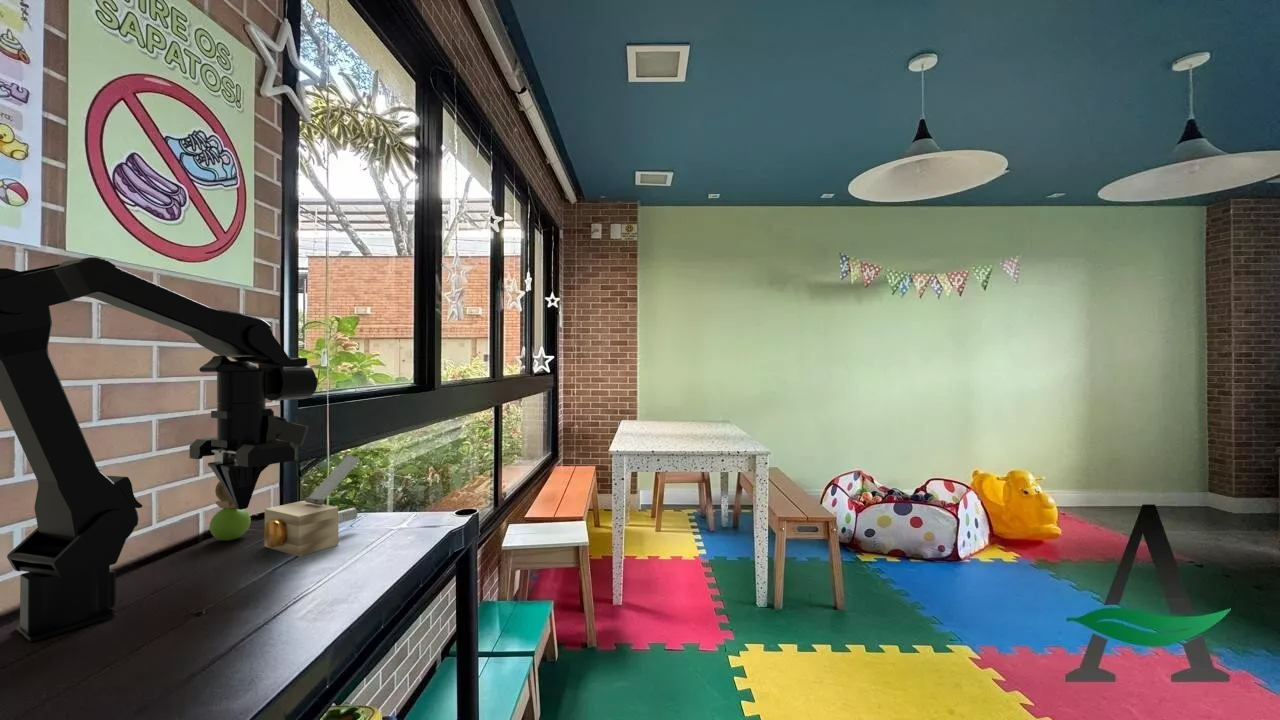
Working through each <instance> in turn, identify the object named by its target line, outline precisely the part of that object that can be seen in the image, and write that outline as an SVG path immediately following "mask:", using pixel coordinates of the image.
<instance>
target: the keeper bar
mask: <svg viewBox="0 0 1280 720" xmlns="http://www.w3.org/2000/svg"><path fill="white" fill-rule="evenodd" d="M360 461H361V459H360V458H359V457H358V456H352V455H346V456H345V458H343V460H342V461H340V463H339V464H338V465H337V466H336V467H335V468H334V469H333V470H332V471H331V473H330V474H328V476H327V477H326V478H325V479H324V480H323V481H322V482H321V483H320V484H319V485H318V486H317V487H316V489H315V490H314V491H312V493H311V494H310V495H309V496H306V497H305V498H304V501H305V502H307V503H313V504H318V505H322V504H324V503H325V501H326V499H327V498H328V496H329V495H330V494H331V493H332V492H333V491H334V490H335V489H336V488H337V486H338V485H339V484H340V483H341V482H342V481H344V479H345V478H346V476H347V475H348V474H349V473H351V471H352V470H353V469H354V468H355V466H356V465H358V463H359V462H360Z"/></svg>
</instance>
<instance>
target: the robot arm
mask: <svg viewBox="0 0 1280 720" xmlns="http://www.w3.org/2000/svg"><path fill="white" fill-rule="evenodd" d="M86 296H87V297H89V298H92V299H95V300H97V301H100V302H103V303H105V304H108V305H110V306H113V307H116V308H119V309H121V310H124V311H127V312H130V313H132V314H134V315H137V316H140V317H143V318H146V319H148V320H151V321H153V322H156V323H157V324H158V323H159V324H161V325H164V326H166V327H169V328H172V329H174V330H177V331H180V332H182V333H185V334H186V335H187V336H189V337H191V338H192V339H193V340H194V341H195V342H196V343H197V344H198V345H200V346H201V347H203V348H205V349H206V350H209V351H210V352H212V353H213V354H216V355H214V356H212V358H211V359H210V360H209V361H208V362H207V363H204V364H203V365H202V366H200V367H199V369H198V370H199V372H200V373H216V410H211V411H210V418H211V419H216V436H215V437H206V438H205V437H204V438H196V440H194V441H193V442H192V443H191V444H190V445H189V459H193V460H202V459H203V458H204V457H210V456H212V457H213V456H214V457H213V458H214V461H213V462H208V463H207V466H208V467H210V469H211V471H212V472H213V474H214V475H215V477H217V480H218V482H219V481H220V482H221V484H222V485H223V487H224V489H225V490H226V492H227V494H228V495H229V497H230V499H231V500H232V502H233V504H234V505H235V507H236V508H237V509H239V510H242V509H244V510H246V509H247V508H249V504H251V503H250V502H251V499H252V496H253V494H254V491H255V489H256V485H257V483H258V480H259V477H260V475H261V473H262V472H263V471H264V470H266V469H267V468H268V467H269V466H270V465H273V464H280V463H287V462H293V461H297V460H298V447H302V446H303V444H304V441H305V439H306V436H307V432H308V429H309V426H307V425H303V424H298V423H294V422H291V421H287V418H286V417H280V416H278V415H275V413H274V410H273V409H272V408H266V407H267V406H266V404H267V403H266V400H268V401H287V400H289V401H290V400H304V399H309V398H310V397H312V396H313V395H314V394H315V392H316V390H317V387H318V377H317V375H316V373H315V371H314V370H313V368H312V367H311V366H309V365H308V358H307V357H291V358H290V357H289V355H288V354H287V352H286V351H285V350H284V348H283V347H282V345H281V344H280V343H279V341H278V340H277V339H276V337H275V336H274V334H273V331H272V329H271V327H272V325H270V323H269V322H267V321H266V320H264V319H262V318H260V317H256V316H252V315H248V314H245V313H241V312H237V311H230V310H225V309H224V310H223V309H219V308H216V307H211V306H208V305H206V304H203V303H201V302H199V301H196V300H194V299H191V298H189V297H187V296H185V295H183V294H180V293H177V291H173V290H170V289H169V288H166V287H164V286H161V285H160V284H157V283H155V282H153V281H151V280H148V279H146V278H143V277H141V276H139V275H136V274H134V273H132V272H129V271H128V270H125V269H122V268H121V267H118V266H116V265H115V264H113V263H112V262H111V261H109V260H107V259H104V258H101V257H95V256H93V257H92V256H91V257H89V256H88V257H81V258H73V259H69V260H65V261H63V262H61V263H57V264H53V265H48V266H43V267H37V268H32V269H26V270H22V271H19V270H16V269H11V268H7V267H6V268H2V267H0V403H1V405H2V407H3V410H4V411H5V413H6V416H7V418H8V420H9V422H10V424H11V426H12V428H13V431H14V434H15V435H16V437H17V440H18V442H19V444H20V446H21V448H22V450H23V453H24V455H25V457H26V460H27V461H28V463H29V466H30V468H31V471H32V472H33V473H34V476H35V478H36V480H37V491H36V495H35V497H36V498H35V502H34V514H35V519H36V525H37V528H36V529H34V530H33V531H32V532H31V533H30V534H29V535H28V536H26V538H25V539H23V540H22V541H21V542H20V543H19V544H18V545H17V546H15V548H13V549H12V550H11V551H10V552H8V554H7V556H6V558H7V560H8V562H9V563H10V565H11V566H12V569H13V570H14V571H15V572H25V573H21V574H20V577H19V578H20V579H19V581H20V583H19V584H20V585H19V588H20V590H19V591H20V594H19V600H20V601H19V623H20V626H18V629H19V630H20V632H21V633H22V634H23V635H24V636H23V635H22V636H23V637H24V638H25V639H27V640H28V641H29V642H35V641H39V640H42V639H46V638H49V637H52V636H56V635H58V634H62V633H66V632H69V631H72V630H76V629H78V628H81V627H82V628H83V627H85V626H87V625H91V624H94V623H98V622H101V621H105V620H107V619H111V618H113V617H115V616H116V611H115V610H114V609H113V608H115V606H116V605H117V599H116V598H117V572H116V571H114V570H112V569H111V568H110V566H113V565H115V564H116V563H117V562H118V560H119V557H120V556H121V553H122V551H123V548H124V545H125V544H126V541H127V539H128V538H130V536H131V535H132V533H133V532H134V529H135V528H136V527H137V526H138V525H139V513H138V510H137V509H141V508H143V504H142V503H140V502H139V500H137V499H136V497H135V494H134V491H133V490H134V489H133V484H132V482H131V479H130V478H129V477H128V476H119V475H105V474H104V472H102V471H101V469H99V468H98V466H97V464H96V462H95V459H94V457H93V455H92V452H91V450H90V448H89V446H88V442H87V441H86V437H85V436H84V433H83V431H82V429H81V426H80V423H79V421H78V419H77V416H76V414H75V412H74V410H73V408H72V405H71V403H70V401H69V398H68V396H67V394H66V391H65V389H64V387H63V384H62V381H61V379H60V377H59V374H58V372H57V370H56V368H55V365H54V363H53V361H52V358H51V355H50V353H49V342H50V337H51V330H52V328H53V327H52V326H53V320H52V315H51V309H50V306H54V305H58V304H63V303H67V302H71V301H74V300H76V299H80V298H82V297H86ZM229 358H231V359H232V360H230V359H229ZM256 365H257V366H258V367H257V366H256ZM297 446H298V447H297Z"/></svg>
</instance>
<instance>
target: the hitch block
mask: <svg viewBox="0 0 1280 720" xmlns="http://www.w3.org/2000/svg"><path fill="white" fill-rule="evenodd" d="M338 511H339V507H338V506H334V505H329V504H322V505H318V504H313V503H307V502H305V500H301V501H295V502H290V503H286V504H282V505H277V506H272V507H267V508H264V526H265V525H266V523H267V522H269V521H273V520H278V519H279V520H281V521H282V522H283V523H284V525H285V524H286V540H285V542H284V544H283V545H281V546H277V547H274V548H270V547H269V546H268V545H267V544H266V542H265V541H264V547H265V548H269V549H272V550H275V551H278V552H283V553H286V554H289V555H291V556H296V557H301V556H302V557H303V556H305V555H309V554H311V553H316V552H318V551H321V550H325V549H328V548H331V547H335V546H338V545H339V524H338Z"/></svg>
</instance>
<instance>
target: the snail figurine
mask: <svg viewBox="0 0 1280 720" xmlns="http://www.w3.org/2000/svg"><path fill="white" fill-rule="evenodd" d="M214 493H215V496H216V498H217V499H218V500H216V501H215V505H217V507H219V508H220V509H221V510H219V511H217V512H216V513H215V514H214V515H213V516H212V518H211V520H210V522H209V531H210V533H211V535H212V537H214V538H215V539H217V540H219V541H229V542H230V541H234V540H236V539H237V540H238V539H239V538H241V537H242V536H243V535H244V534H245V533H247V531H248V530H249V528H250V526H251V521H252V520H251V516H250V514H249V512H248V511H247V510H246V509H242V510H239V509H237V508H236V507H235V505H234V504H233V502H232V500H231V499H230V497H229V495H228V494H227V492H226V490H225V489H224V487H223V485H222V484H221V482H220V481H219V480H218V482H217V484H216V486H215V491H214Z"/></svg>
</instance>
